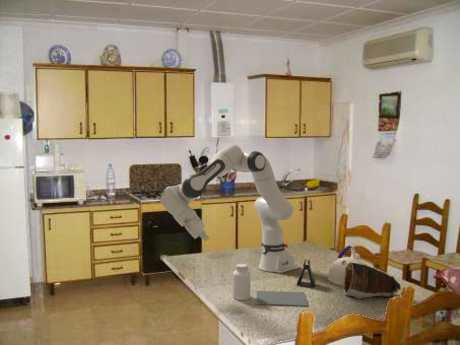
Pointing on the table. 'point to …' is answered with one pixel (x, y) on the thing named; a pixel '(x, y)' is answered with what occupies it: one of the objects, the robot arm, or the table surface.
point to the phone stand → (312, 280)
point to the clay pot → (368, 282)
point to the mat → (281, 298)
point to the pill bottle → (241, 282)
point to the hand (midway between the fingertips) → (207, 239)
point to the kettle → (342, 266)
